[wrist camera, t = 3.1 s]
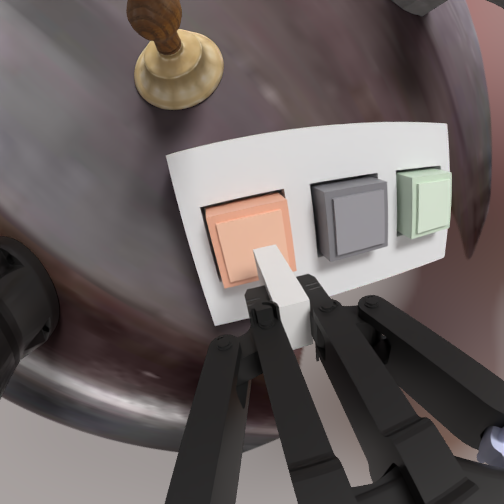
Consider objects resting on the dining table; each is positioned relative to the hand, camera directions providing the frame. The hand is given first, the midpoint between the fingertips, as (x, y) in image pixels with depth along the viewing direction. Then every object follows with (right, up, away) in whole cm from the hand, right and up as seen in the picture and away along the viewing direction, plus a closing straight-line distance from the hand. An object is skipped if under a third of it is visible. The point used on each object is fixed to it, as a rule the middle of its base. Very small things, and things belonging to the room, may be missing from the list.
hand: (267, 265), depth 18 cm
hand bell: (-8, +18, +2) cm, 19 cm away
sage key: (+16, +7, +7) cm, 19 cm away
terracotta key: (-1, +3, +6) cm, 6 cm away
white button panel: (+7, +6, +10) cm, 13 cm away
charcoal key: (+7, +5, +6) cm, 11 cm away
